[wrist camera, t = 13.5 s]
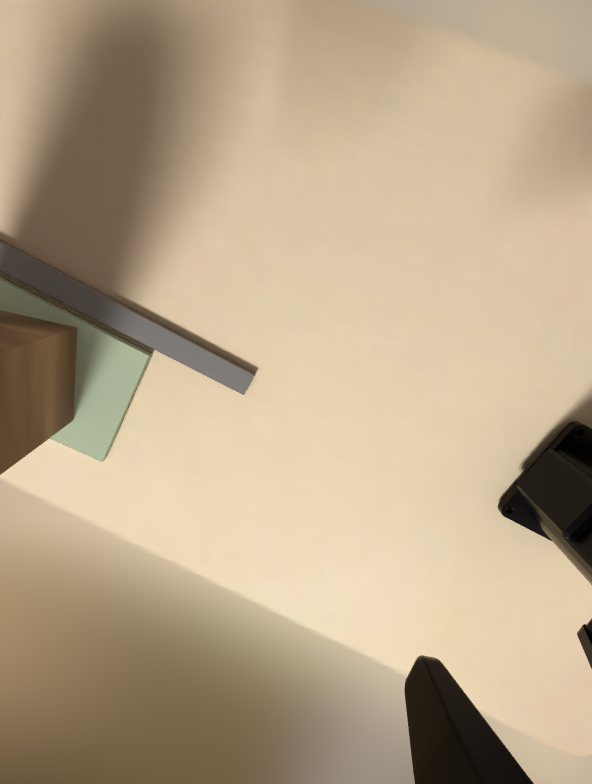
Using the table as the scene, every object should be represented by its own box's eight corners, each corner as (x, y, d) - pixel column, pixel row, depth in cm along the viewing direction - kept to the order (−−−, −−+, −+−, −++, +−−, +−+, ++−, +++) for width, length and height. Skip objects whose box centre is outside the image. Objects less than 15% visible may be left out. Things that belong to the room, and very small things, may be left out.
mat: (151, 353, 19) (149, 355, 19) (105, 458, 21) (102, 462, 21) (-53, 250, 18) (-60, 250, 17) (-82, 374, 20) (-89, 376, 19)
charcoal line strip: (254, 373, 20) (254, 375, 19) (244, 393, 20) (243, 395, 20) (-216, 127, 16) (-225, 125, 16) (-219, 156, 16) (-228, 154, 16)
